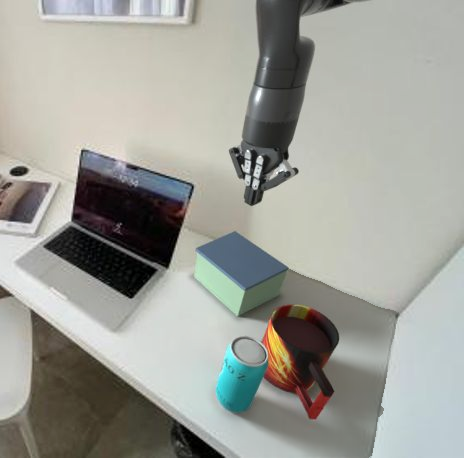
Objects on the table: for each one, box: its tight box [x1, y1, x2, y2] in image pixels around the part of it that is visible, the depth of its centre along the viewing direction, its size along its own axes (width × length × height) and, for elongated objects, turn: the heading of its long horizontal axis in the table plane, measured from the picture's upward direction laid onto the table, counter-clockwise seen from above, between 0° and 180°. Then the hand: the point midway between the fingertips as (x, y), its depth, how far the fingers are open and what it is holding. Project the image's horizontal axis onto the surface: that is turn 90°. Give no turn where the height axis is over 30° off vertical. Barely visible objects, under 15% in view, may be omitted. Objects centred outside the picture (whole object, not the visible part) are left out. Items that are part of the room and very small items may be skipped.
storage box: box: [193, 252, 288, 317], centre depth 80 cm, size 14×12×8 cm
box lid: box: [195, 230, 289, 291], centre depth 78 cm, size 14×12×1 cm
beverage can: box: [215, 335, 269, 414], centre depth 58 cm, size 6×6×15 cm
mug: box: [260, 303, 340, 420], centre depth 61 cm, size 10×14×12 cm
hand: (251, 203), depth 67 cm, fingers closed
